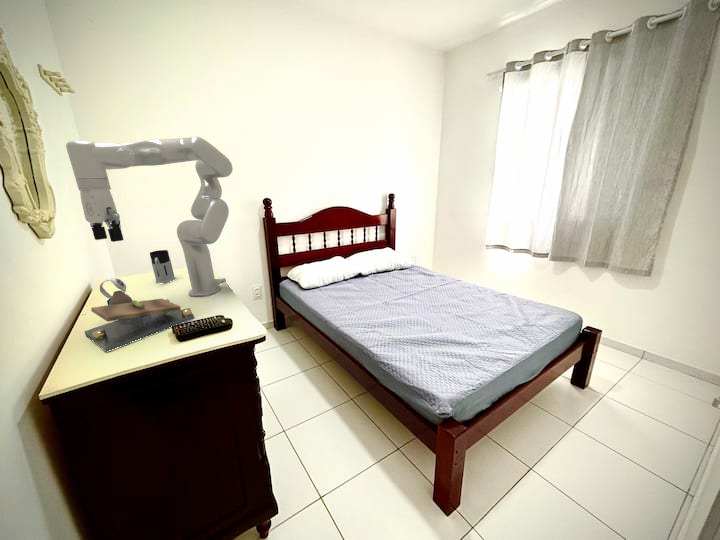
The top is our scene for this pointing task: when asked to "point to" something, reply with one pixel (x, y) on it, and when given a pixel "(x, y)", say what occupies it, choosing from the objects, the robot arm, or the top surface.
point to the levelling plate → (134, 309)
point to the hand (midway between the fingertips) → (109, 240)
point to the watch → (117, 283)
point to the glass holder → (162, 266)
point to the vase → (120, 298)
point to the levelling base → (136, 328)
